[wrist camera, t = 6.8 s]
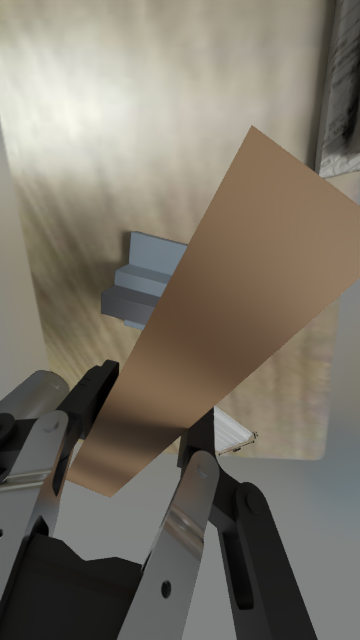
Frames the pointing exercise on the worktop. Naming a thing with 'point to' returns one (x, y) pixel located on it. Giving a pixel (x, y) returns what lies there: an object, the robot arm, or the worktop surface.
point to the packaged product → (341, 96)
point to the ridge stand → (142, 279)
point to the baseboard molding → (228, 431)
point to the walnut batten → (226, 306)
